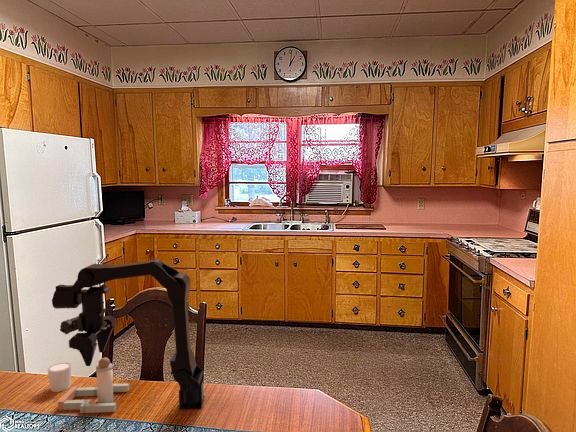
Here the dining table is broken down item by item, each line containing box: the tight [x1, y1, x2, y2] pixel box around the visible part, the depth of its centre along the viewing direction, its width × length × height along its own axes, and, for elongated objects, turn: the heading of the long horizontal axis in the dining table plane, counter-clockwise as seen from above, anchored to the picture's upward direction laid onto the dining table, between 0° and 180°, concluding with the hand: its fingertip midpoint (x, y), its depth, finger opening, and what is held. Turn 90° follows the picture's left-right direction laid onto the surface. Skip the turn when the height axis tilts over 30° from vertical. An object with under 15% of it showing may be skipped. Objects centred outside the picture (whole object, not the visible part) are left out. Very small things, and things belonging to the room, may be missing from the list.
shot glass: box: [47, 362, 72, 393], centre depth 133 cm, size 7×7×7 cm
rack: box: [57, 383, 130, 414], centre depth 124 cm, size 17×13×2 cm
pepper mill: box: [95, 357, 115, 403], centre depth 124 cm, size 5×5×14 cm
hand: (95, 358), depth 120 cm, fingers open, 9 cm apart
